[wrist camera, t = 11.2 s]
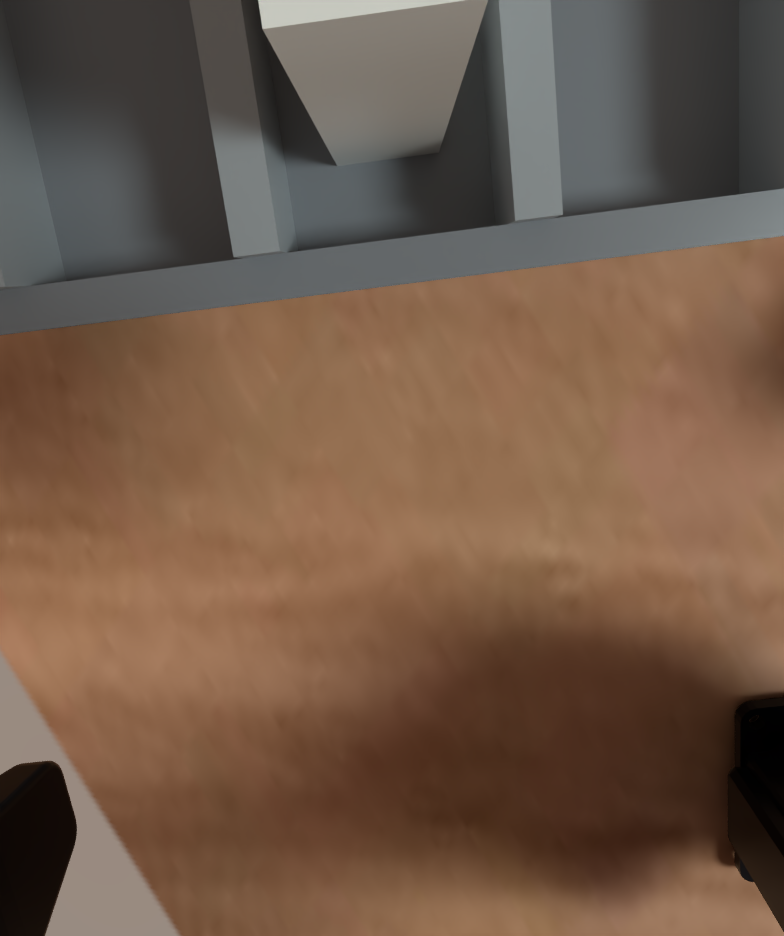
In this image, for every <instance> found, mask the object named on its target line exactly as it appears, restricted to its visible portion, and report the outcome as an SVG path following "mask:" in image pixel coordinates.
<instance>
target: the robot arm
mask: <svg viewBox="0 0 784 936" xmlns="http://www.w3.org/2000/svg"><path fill="white" fill-rule="evenodd" d="M756 715H759V716H758V718H757V719H756V720H755V721H753V722H749V720H750V719H751V718H752V717H753V716H756ZM76 832H77V826H76V819H75V815H74V811H73V808H72V805H71V801H70V797H69V793H68V790H67V786H66V783H65V779H64V776H63V773H62V770H61V768H60V767H59V765H58V764H56V763H55V762H53V761H42V762H33V763H23V764H19V765H16V766H14V767H13V768H11V769H9V770H8V771H6V772H4V773H3V774H1V775H0V936H45V933H46V930H47V927H48V924H49V921H50V918H51V915H52V912H53V909H54V906H55V903H56V900H57V897H58V894H59V891H60V888H61V885H62V882H63V879H64V876H65V873H66V870H67V867H68V864H69V861H70V858H71V855H72V851H73V848H74V845H75V840H76V834H77V833H76ZM728 837H729V840H730V842H731V843H732V845H733V847H734V848H735V865H736V867H737V869H738V871H739V872H740V874H741V876H742V877H743V878H744V879H745V880H747V881H750V882H755V884H756V886H757V887H758V889H759V891H760V892H761V894H762V896H763V898H764V899H765V901H766V903H767V904H768V906H769V908H770V909H771V911H772V913H773V915H774V916H775V918H776V920H777V921H778V923H779V925H780V926H781V928H782V930H783V932H784V698H774V699H764V700H754V701H749V702H745V703H743V704H742V705H740V706H739V707H738V709H737V710H736V712H735V767H733V768H732V769H731V771H730V772H729V774H728Z"/></svg>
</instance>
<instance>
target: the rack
mask: <svg viewBox="0 0 784 936" xmlns="http://www.w3.org/2000/svg"><path fill="white" fill-rule="evenodd" d="M779 236H784V0H488V2H487V5H486V8H485V12H484V15H483V18H482V21H481V24H480V27H479V30H478V33H477V36H476V39H475V42H474V45H473V49H472V52H471V55H470V58H469V61H468V64H467V67H466V70H465V73H464V76H463V79H462V83H461V86H460V89H459V92H458V95H457V98H456V101H455V104H454V107H453V110H452V113H451V116H450V120H449V123H448V126H447V129H446V132H445V135H444V138H443V141H442V144H441V147H440V150H439V153H433V154H425V155H418V156H410V157H403V158H395V159H388V160H380V161H373V162H365V163H358V164H350V165H343V166H337V165H336V163H335V161H334V159H333V157H332V156H331V154H330V152H329V150H328V148H327V146H326V145H325V143H324V141H323V139H322V137H321V135H320V134H319V132H318V130H317V128H316V126H315V124H314V123H313V121H312V119H311V117H310V115H309V113H308V112H307V110H306V108H305V106H304V104H303V102H302V101H301V99H300V97H299V95H298V93H297V91H296V90H295V88H294V86H293V84H292V82H291V80H290V79H289V77H288V75H287V73H286V71H285V69H284V68H283V66H282V64H281V62H280V60H279V58H278V57H277V55H276V53H275V51H274V49H273V47H272V46H271V44H270V42H269V40H268V38H267V36H266V35H265V33H264V31H263V29H262V22H261V15H260V9H259V2H258V0H0V335H5V334H13V333H21V332H29V331H37V330H45V329H53V328H61V327H69V326H76V325H84V324H92V323H100V322H108V321H116V320H124V319H132V318H140V317H147V316H155V315H163V314H171V313H179V312H187V311H195V310H203V309H211V308H218V307H226V306H234V305H242V304H250V303H258V302H266V301H274V300H282V299H289V298H297V297H305V296H313V295H321V294H329V293H337V292H345V291H353V290H360V289H368V288H376V287H384V286H392V285H400V284H408V283H416V282H424V281H431V280H439V279H447V278H455V277H463V276H471V275H479V274H487V273H495V272H503V271H510V270H518V269H526V268H534V267H542V266H550V265H558V264H566V263H574V262H581V261H589V260H597V259H605V258H613V257H621V256H629V255H637V254H645V253H652V252H660V251H668V250H676V249H684V248H692V247H700V246H708V245H716V244H723V243H731V242H739V241H747V240H755V239H763V238H771V237H779Z"/></svg>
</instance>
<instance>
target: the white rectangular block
mask: <svg viewBox="0 0 784 936" xmlns="http://www.w3.org/2000/svg"><path fill="white" fill-rule="evenodd" d="M258 2H259V9H260V15H261V22H262V29H263V31H264V33H265V35H266V36H267V38H268V40H269V42H270V44H271V46H272V47H273V49H274V51H275V53H276V55H277V57H278V58H279V60H280V62H281V64H282V66H283V68H284V69H285V71H286V73H287V75H288V77H289V79H290V80H291V82H292V84H293V86H294V88H295V90H296V91H297V93H298V95H299V97H300V99H301V101H302V102H303V104H304V106H305V108H306V110H307V112H308V113H309V115H310V117H311V119H312V121H313V123H314V124H315V126H316V128H317V130H318V132H319V134H320V135H321V137H322V139H323V141H324V143H325V145H326V146H327V148H328V150H329V152H330V154H331V156H332V157H333V159H334V161H335V163H336V165H337V166H343V165H350V164H358V163H365V162H373V161H380V160H388V159H395V158H403V157H410V156H418V155H425V154H433V153H439V150H440V147H441V144H442V141H443V138H444V135H445V132H446V129H447V126H448V123H449V120H450V116H451V113H452V110H453V107H454V104H455V101H456V98H457V95H458V92H459V89H460V86H461V83H462V79H463V76H464V73H465V70H466V67H467V64H468V61H469V58H470V55H471V52H472V49H473V45H474V42H475V39H476V36H477V33H478V30H479V27H480V24H481V21H482V18H483V15H484V12H485V8H486V5H487V2H488V0H258Z"/></svg>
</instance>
